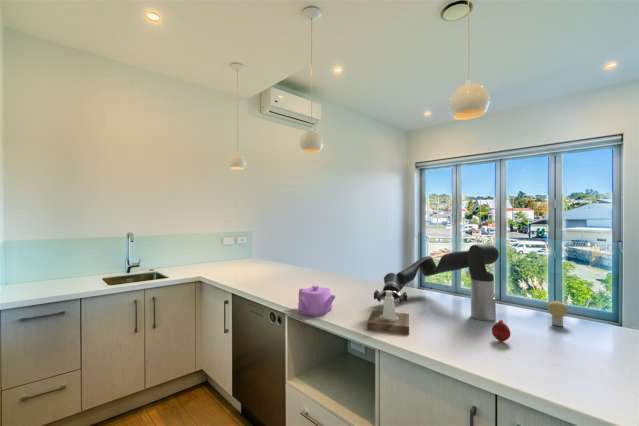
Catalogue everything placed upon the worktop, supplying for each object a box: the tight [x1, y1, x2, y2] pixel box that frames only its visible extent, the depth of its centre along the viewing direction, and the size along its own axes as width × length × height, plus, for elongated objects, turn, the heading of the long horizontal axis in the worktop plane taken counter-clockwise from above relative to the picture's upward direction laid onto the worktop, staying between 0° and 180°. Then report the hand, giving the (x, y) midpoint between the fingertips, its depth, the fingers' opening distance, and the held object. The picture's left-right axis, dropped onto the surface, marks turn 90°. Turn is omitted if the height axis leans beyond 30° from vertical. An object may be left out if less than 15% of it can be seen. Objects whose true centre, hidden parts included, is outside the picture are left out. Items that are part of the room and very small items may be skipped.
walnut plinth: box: [367, 309, 410, 335], centre depth 121 cm, size 16×16×3 cm
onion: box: [491, 319, 511, 343], centre depth 104 cm, size 6×6×8 cm
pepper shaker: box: [382, 291, 396, 319], centre depth 121 cm, size 5×5×11 cm
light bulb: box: [547, 300, 568, 327], centre depth 121 cm, size 6×6×10 cm
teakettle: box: [297, 285, 336, 318], centre depth 138 cm, size 17×17×12 cm
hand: (389, 300), depth 120 cm, fingers open, 8 cm apart
